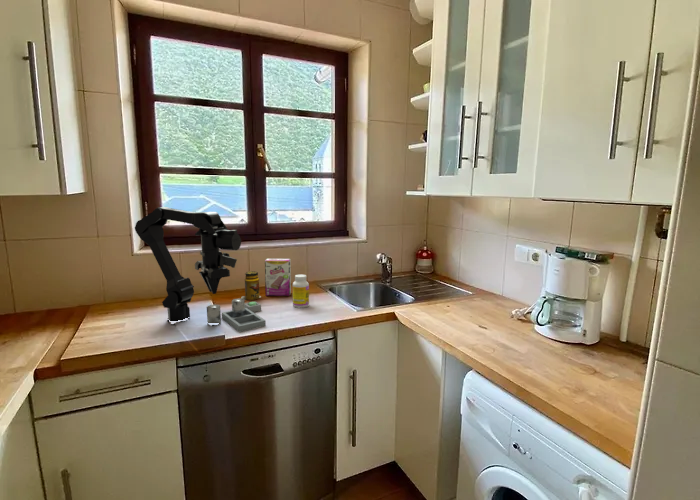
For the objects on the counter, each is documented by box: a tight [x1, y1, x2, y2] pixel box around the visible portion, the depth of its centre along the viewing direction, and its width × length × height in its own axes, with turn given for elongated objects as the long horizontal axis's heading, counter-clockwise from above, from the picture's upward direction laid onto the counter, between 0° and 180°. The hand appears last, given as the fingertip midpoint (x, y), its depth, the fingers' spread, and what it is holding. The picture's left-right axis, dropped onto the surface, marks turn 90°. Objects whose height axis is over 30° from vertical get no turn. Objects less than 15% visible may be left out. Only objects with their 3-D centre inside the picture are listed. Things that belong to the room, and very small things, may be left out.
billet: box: [206, 304, 222, 325], centre depth 135 cm, size 4×4×7 cm
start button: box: [248, 301, 257, 306], centre depth 150 cm, size 3×3×3 cm
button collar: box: [245, 301, 262, 313], centre depth 150 cm, size 5×5×3 cm
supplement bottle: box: [292, 273, 310, 309], centre depth 157 cm, size 7×7×13 cm
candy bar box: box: [264, 258, 292, 297], centre depth 172 cm, size 11×5×16 cm, turn 94°
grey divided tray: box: [221, 308, 267, 333], centre depth 137 cm, size 10×17×3 cm, turn 38°
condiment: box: [241, 270, 262, 301], centre depth 165 cm, size 7×8×12 cm
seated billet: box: [231, 297, 246, 318], centre depth 140 cm, size 4×4×7 cm
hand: (212, 292), depth 133 cm, fingers open, 3 cm apart
